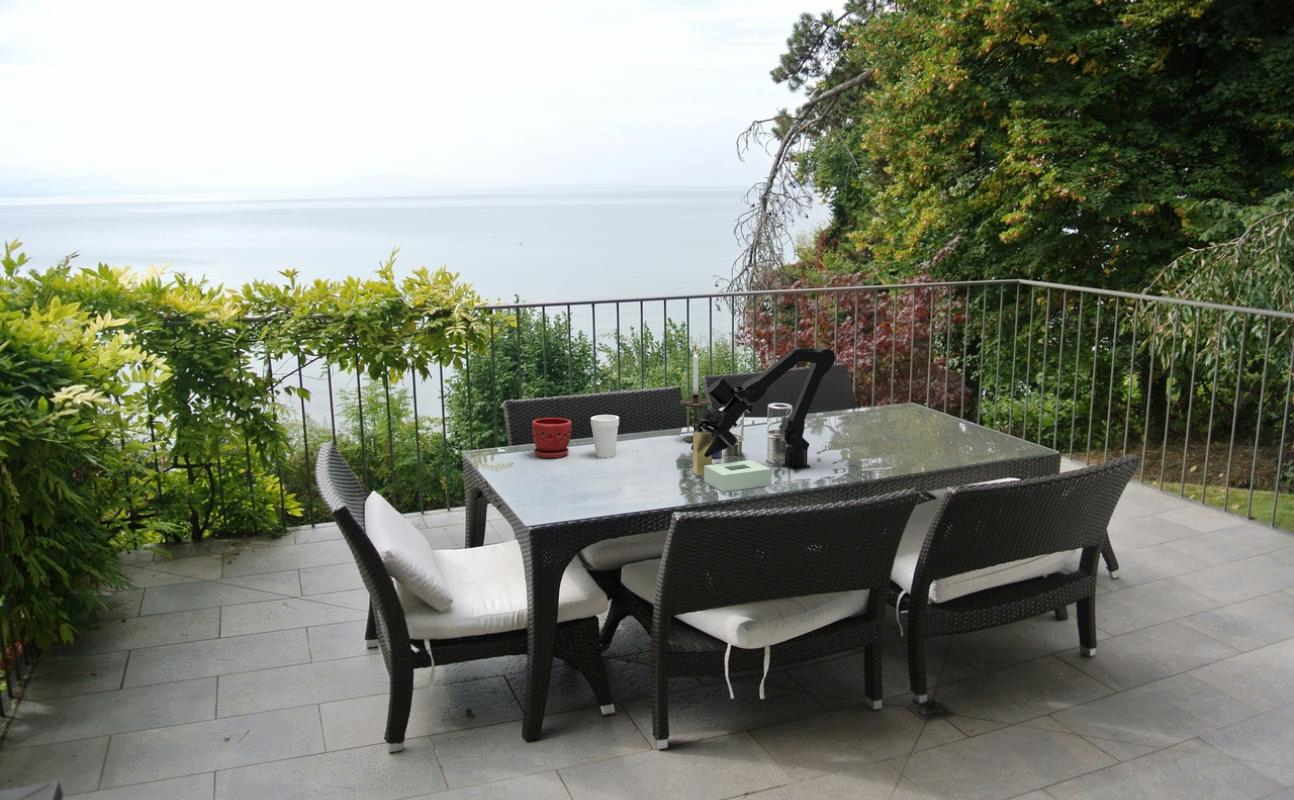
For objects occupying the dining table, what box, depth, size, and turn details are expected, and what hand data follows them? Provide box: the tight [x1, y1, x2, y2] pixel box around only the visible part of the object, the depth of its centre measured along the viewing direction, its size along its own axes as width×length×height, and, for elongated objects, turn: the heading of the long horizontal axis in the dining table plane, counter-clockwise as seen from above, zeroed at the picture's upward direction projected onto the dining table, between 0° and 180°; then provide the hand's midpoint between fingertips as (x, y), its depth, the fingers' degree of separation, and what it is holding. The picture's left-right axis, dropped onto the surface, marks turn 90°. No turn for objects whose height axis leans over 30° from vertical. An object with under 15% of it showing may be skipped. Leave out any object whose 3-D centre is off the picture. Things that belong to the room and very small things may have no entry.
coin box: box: [703, 459, 772, 493], centre depth 283 cm, size 16×12×5 cm
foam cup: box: [590, 414, 620, 458], centre depth 318 cm, size 10×9×13 cm
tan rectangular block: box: [692, 431, 713, 476], centre depth 294 cm, size 5×3×13 cm, turn 113°
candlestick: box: [679, 343, 712, 444], centre depth 335 cm, size 11×11×35 cm
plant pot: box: [531, 417, 572, 459], centre depth 319 cm, size 13×13×12 cm
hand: (698, 453), depth 293 cm, fingers open, 9 cm apart
